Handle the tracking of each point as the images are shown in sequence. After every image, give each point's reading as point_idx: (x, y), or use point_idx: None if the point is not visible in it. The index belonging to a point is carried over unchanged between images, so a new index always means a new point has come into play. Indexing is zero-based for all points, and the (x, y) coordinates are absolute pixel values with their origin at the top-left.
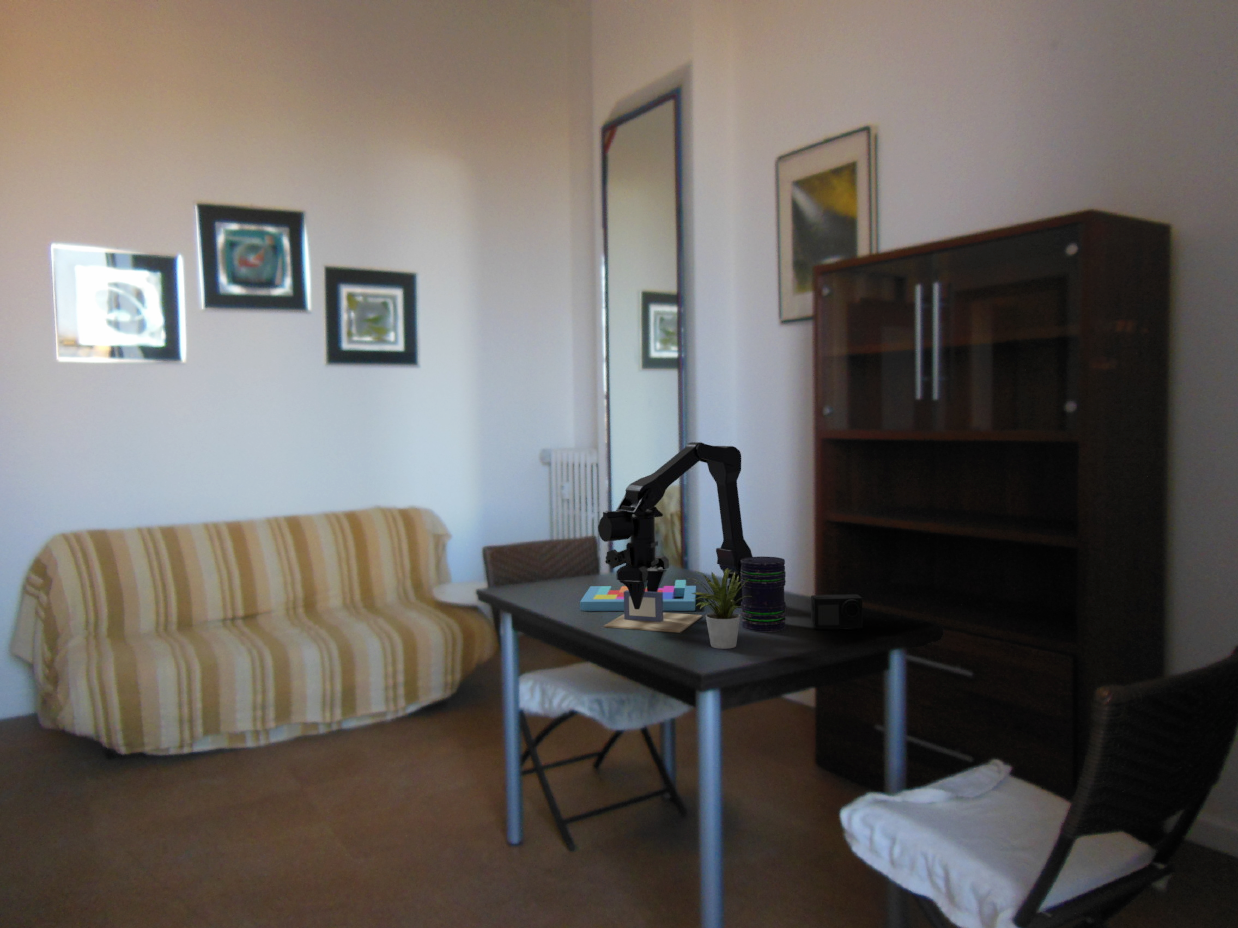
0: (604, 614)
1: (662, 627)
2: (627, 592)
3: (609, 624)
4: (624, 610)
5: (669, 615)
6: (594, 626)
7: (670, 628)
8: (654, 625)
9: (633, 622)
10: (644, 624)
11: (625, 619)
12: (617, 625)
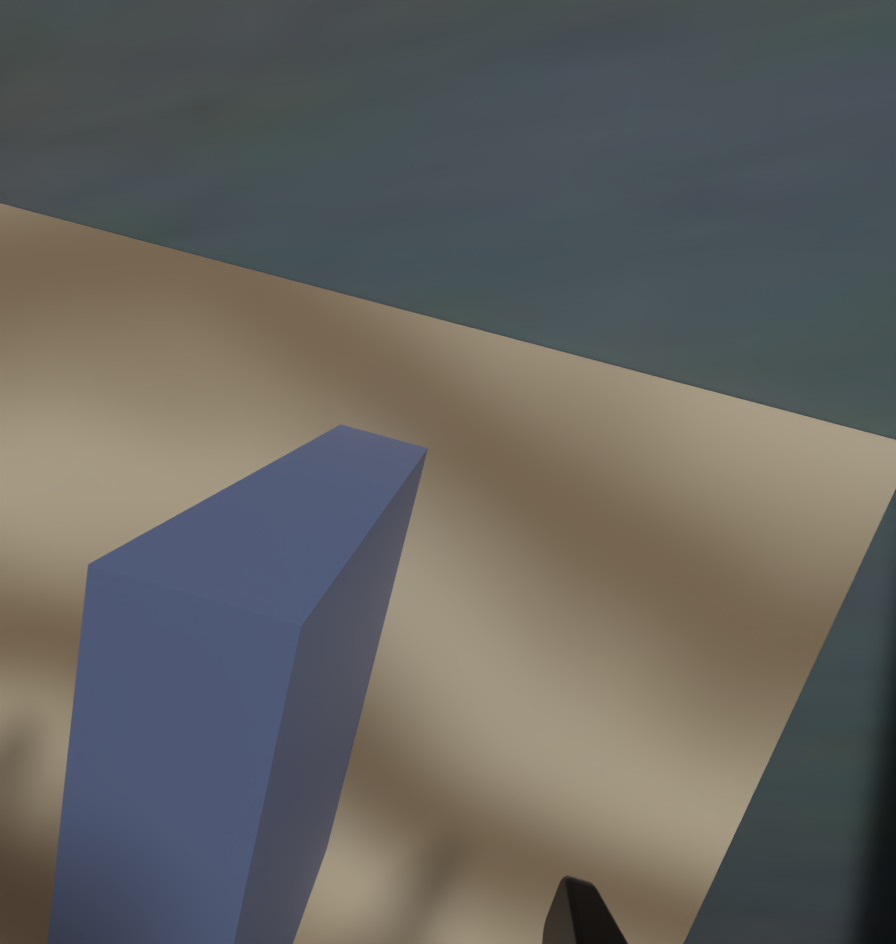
0: (772, 49)
1: (32, 836)
2: (92, 663)
3: (48, 266)
4: (302, 451)
5: None
6: (20, 56)
7: (11, 898)
8: None
9: None
10: None
11: None
12: (17, 378)
